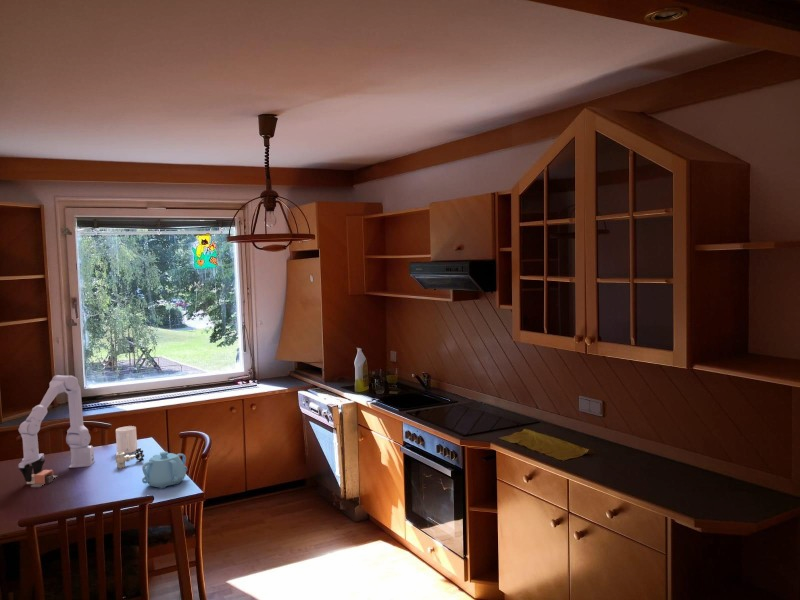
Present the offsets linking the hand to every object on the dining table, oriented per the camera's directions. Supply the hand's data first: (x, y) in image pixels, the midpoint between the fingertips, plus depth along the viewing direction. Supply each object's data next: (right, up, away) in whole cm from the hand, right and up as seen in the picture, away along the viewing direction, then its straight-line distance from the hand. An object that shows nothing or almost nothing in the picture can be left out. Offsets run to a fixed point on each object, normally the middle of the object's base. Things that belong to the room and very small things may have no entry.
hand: (33, 479), depth 289 cm
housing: (+5, -1, 0) cm, 5 cm away
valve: (+34, +1, +20) cm, 39 cm away
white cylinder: (+24, +2, +42) cm, 48 cm away
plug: (+3, -1, 0) cm, 4 cm away
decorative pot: (+61, 0, -9) cm, 62 cm away
